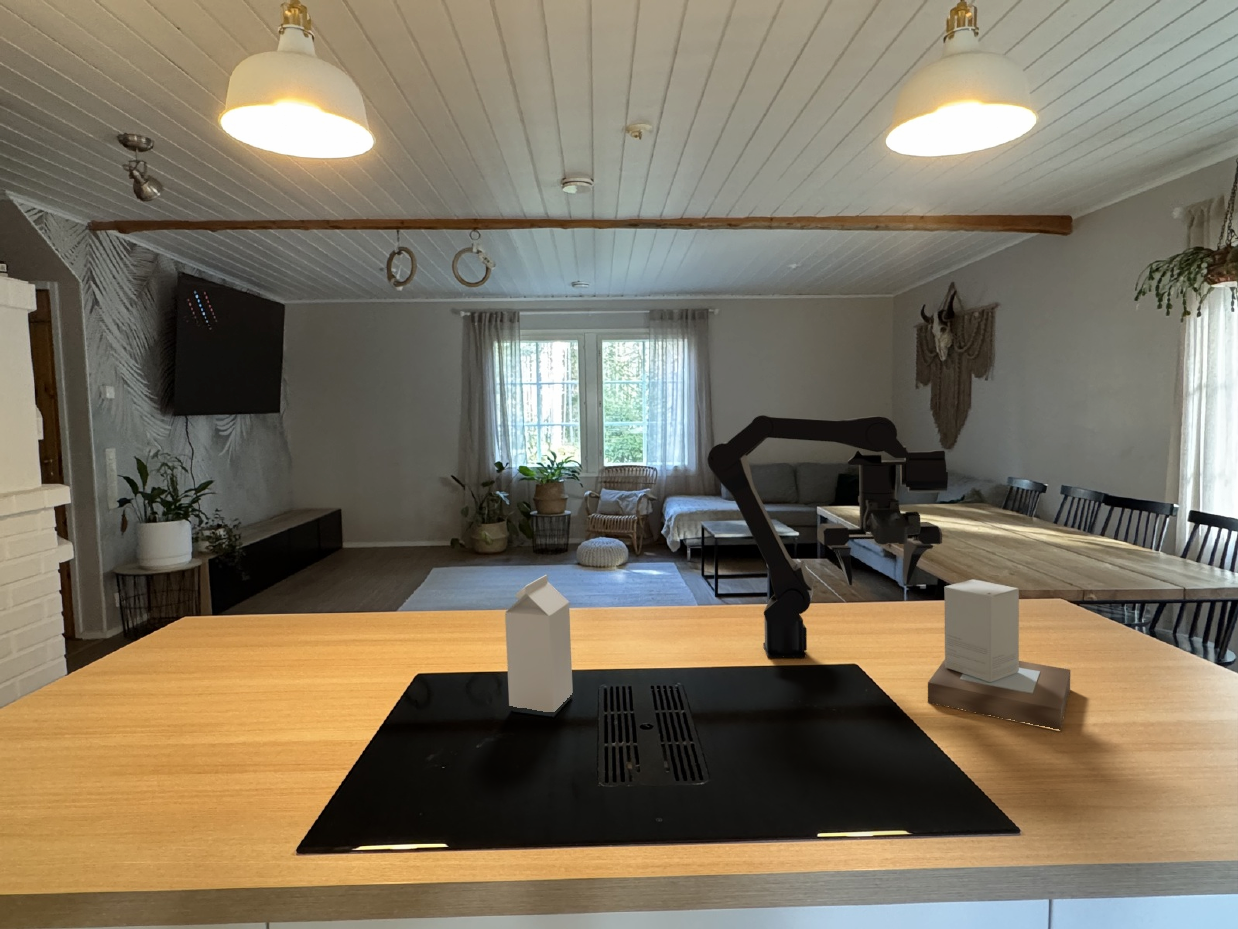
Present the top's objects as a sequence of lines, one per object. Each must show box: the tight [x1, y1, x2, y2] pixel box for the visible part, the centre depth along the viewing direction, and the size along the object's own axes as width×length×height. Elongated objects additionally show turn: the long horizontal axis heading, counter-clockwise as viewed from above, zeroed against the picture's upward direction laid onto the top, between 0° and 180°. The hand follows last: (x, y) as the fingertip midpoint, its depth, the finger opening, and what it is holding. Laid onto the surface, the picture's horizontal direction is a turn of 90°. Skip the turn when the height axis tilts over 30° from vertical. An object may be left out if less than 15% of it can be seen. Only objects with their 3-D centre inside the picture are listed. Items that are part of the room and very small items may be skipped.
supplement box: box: [943, 578, 1020, 682], centre depth 99 cm, size 7×7×13 cm
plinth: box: [927, 659, 1071, 731], centre depth 98 cm, size 16×16×3 cm
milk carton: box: [504, 574, 574, 712], centre depth 99 cm, size 7×7×19 cm
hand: (878, 584), depth 112 cm, fingers open, 9 cm apart
